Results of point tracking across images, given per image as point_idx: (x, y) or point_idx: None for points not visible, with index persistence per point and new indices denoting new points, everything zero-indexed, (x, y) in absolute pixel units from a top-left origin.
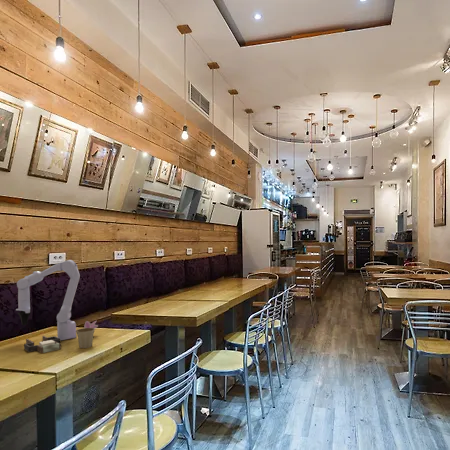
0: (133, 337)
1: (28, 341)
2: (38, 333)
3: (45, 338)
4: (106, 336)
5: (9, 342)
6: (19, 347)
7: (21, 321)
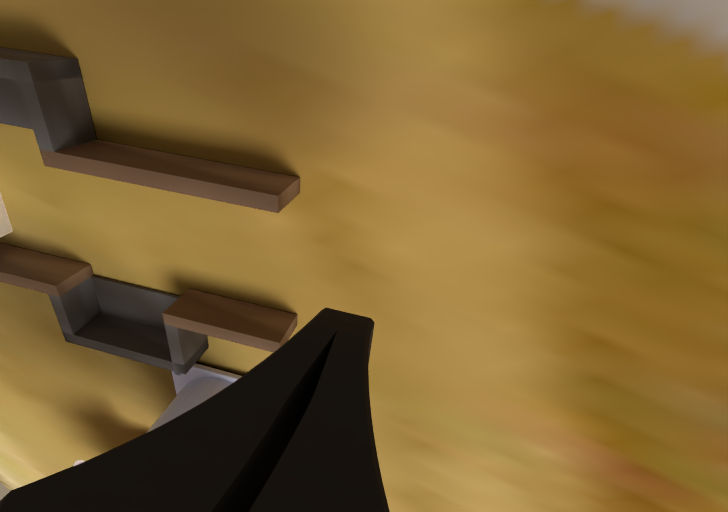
0: None
1: (187, 173)
2: (662, 459)
3: (196, 314)
4: None
5: (591, 84)
6: (182, 54)
7: (329, 357)
